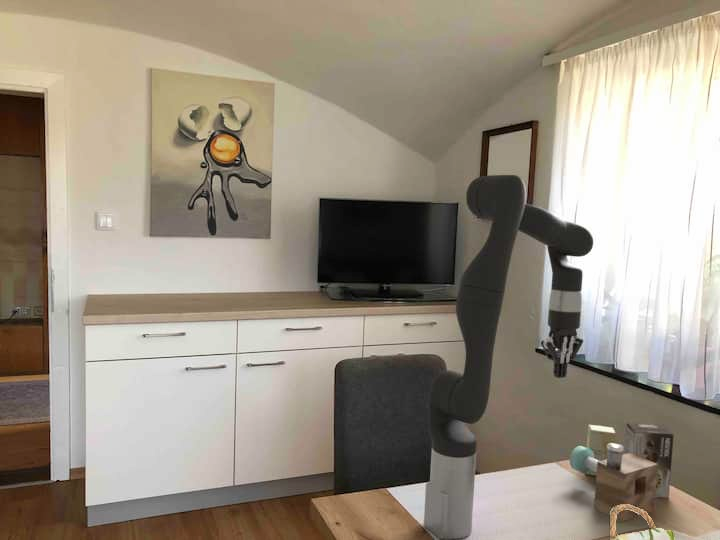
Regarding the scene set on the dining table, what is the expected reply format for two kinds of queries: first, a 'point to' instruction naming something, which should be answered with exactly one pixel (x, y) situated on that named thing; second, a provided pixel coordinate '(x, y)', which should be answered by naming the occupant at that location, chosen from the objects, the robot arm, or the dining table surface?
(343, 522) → the dining table surface
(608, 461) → the dial post
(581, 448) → the knob
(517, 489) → the dining table surface
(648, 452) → the coffee box
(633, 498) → the mount
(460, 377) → the robot arm
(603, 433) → the skincare box
